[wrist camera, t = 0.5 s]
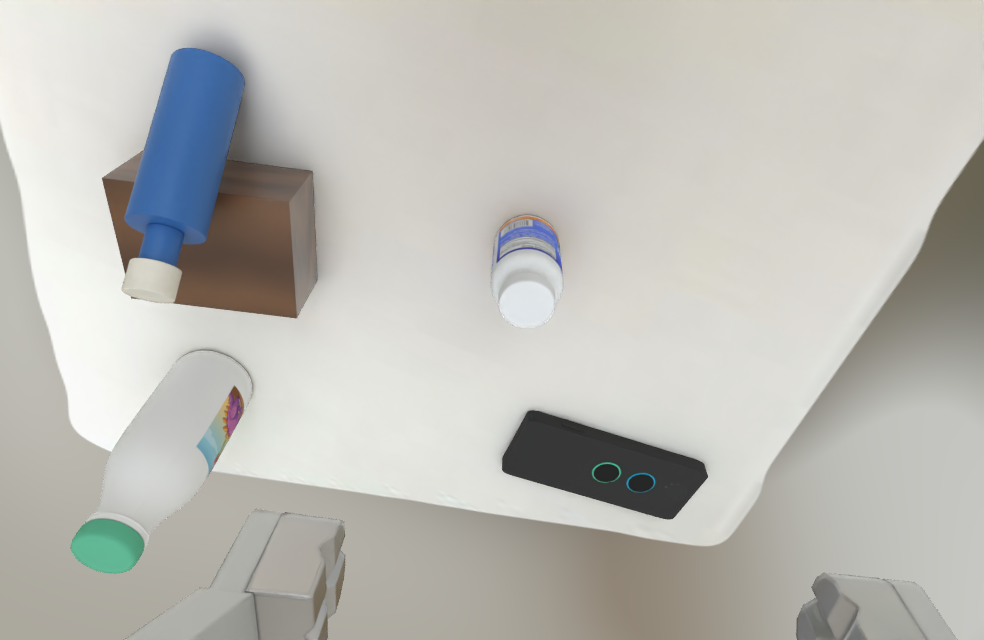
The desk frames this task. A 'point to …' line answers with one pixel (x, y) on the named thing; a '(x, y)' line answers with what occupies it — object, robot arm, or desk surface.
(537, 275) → the pill bottle
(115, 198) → the wooden box
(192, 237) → the bottle
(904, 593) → the robot arm
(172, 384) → the milk bottle
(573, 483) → the smart home device
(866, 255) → the desk surface
